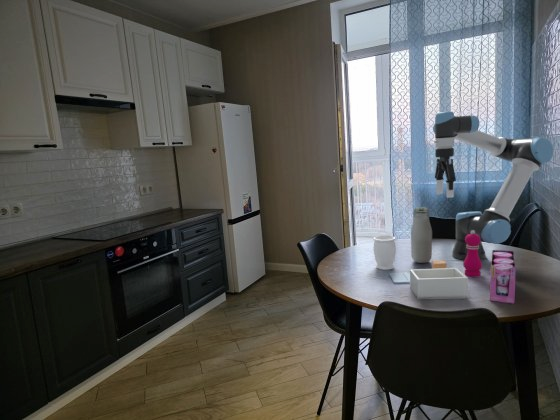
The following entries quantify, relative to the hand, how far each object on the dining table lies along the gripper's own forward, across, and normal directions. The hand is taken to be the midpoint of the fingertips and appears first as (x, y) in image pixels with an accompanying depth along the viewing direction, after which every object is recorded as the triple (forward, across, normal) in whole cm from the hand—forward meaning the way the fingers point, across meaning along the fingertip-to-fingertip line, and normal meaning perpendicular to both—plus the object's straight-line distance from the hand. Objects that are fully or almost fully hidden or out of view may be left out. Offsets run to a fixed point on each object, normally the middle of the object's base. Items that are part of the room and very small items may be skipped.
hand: (444, 195), depth 167 cm
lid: (+35, +10, -15) cm, 39 cm away
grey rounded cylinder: (+35, -13, -7) cm, 38 cm away
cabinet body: (+35, +28, -12) cm, 46 cm away
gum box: (+35, +28, +12) cm, 47 cm away
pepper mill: (+35, +8, +9) cm, 37 cm away
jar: (+35, -7, -26) cm, 44 cm away
